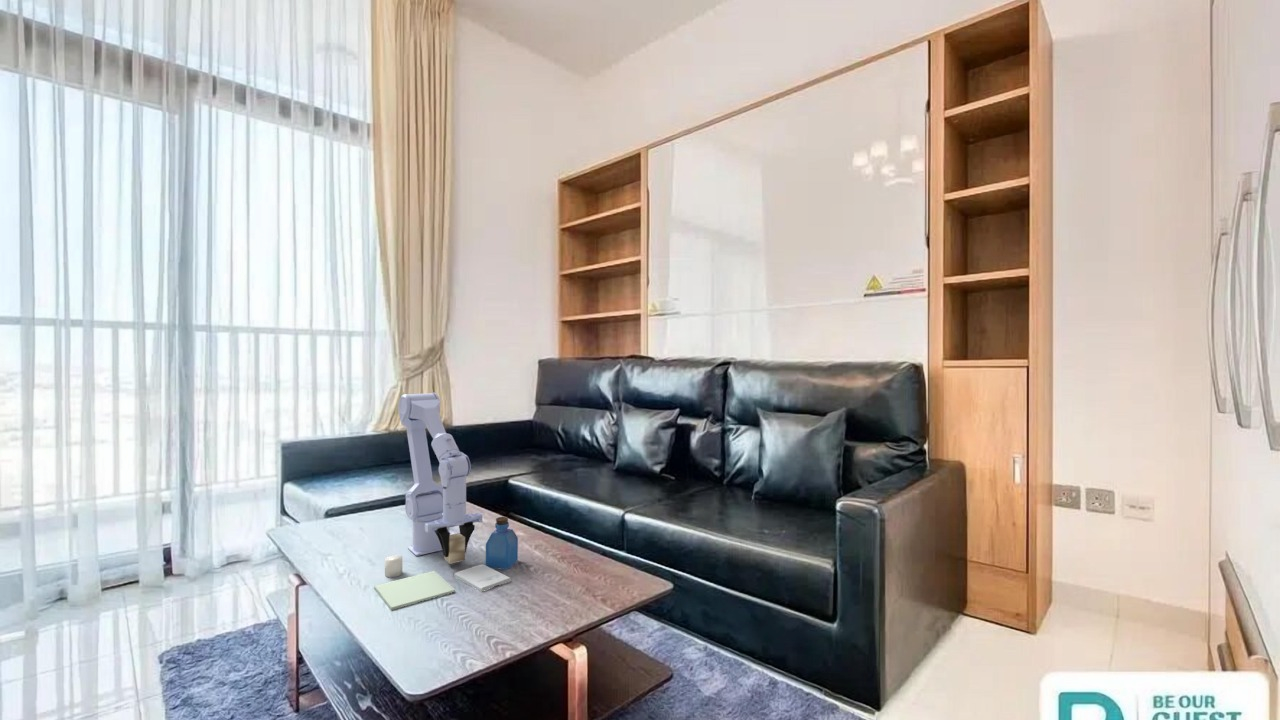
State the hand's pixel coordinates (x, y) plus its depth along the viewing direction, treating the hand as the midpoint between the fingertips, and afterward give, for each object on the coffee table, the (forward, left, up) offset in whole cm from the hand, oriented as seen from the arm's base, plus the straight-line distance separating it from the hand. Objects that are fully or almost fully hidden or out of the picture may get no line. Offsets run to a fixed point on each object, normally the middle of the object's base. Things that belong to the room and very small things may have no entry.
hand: (454, 553), depth 143 cm
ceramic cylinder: (+14, -4, -3) cm, 15 cm away
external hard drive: (-2, +13, -4) cm, 14 cm away
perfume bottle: (-10, +7, -3) cm, 13 cm away
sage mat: (+13, +9, -3) cm, 16 cm away
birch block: (0, 0, -2) cm, 2 cm away
